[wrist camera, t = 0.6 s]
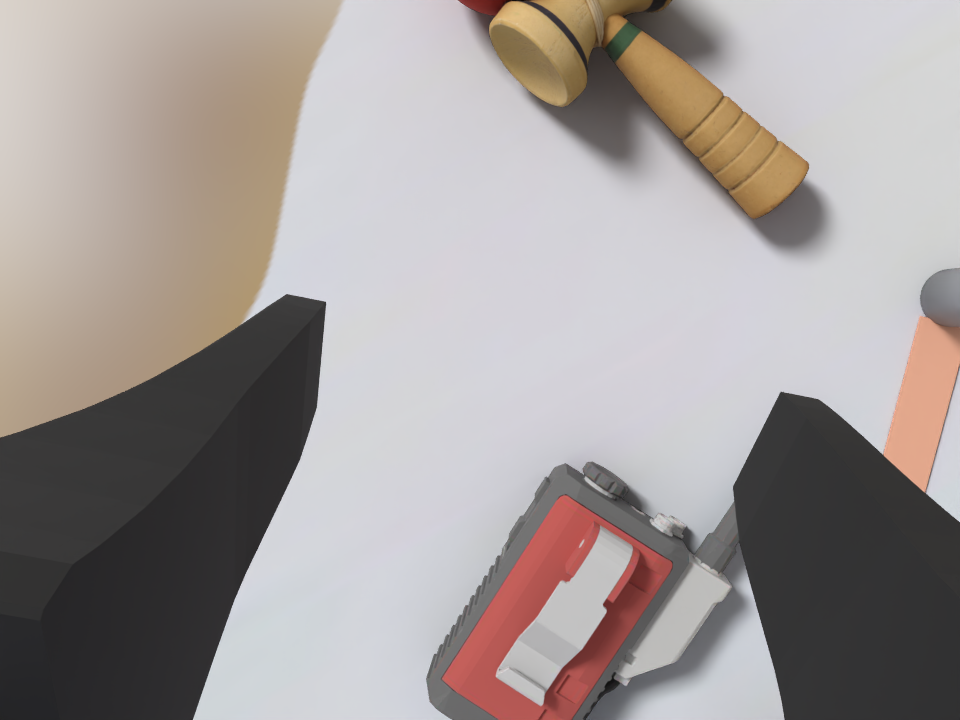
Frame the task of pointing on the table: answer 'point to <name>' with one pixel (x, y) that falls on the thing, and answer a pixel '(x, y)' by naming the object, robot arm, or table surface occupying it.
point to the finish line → (927, 379)
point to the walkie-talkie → (578, 604)
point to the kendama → (643, 87)
